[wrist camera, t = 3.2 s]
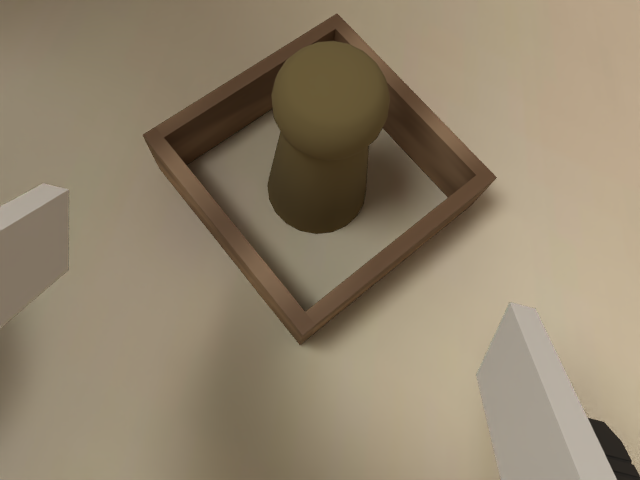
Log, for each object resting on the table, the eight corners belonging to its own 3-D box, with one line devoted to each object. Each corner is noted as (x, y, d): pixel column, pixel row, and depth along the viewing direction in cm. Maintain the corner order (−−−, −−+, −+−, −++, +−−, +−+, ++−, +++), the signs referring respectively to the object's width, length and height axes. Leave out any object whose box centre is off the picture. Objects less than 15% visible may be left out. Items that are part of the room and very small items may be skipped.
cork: (248, 174, 32) (231, 57, 21) (328, 127, 33) (350, -4, 23) (304, 252, 30) (316, 169, 20) (385, 200, 32) (436, 96, 21)
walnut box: (159, 168, 31) (142, 134, 27) (331, 56, 35) (337, 13, 31) (299, 345, 29) (302, 335, 25) (471, 205, 32) (496, 177, 28)
